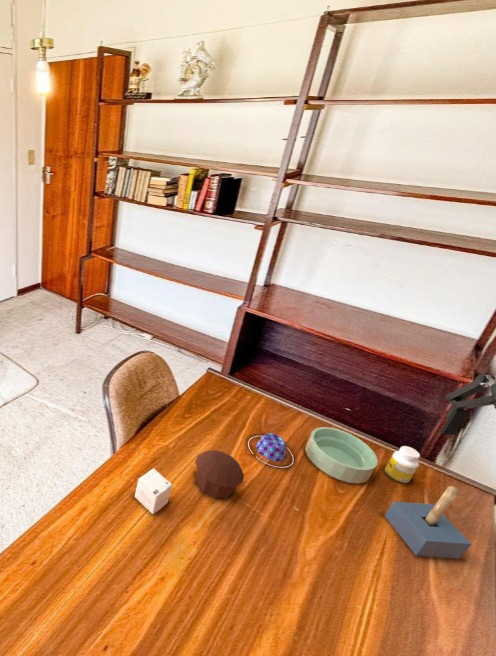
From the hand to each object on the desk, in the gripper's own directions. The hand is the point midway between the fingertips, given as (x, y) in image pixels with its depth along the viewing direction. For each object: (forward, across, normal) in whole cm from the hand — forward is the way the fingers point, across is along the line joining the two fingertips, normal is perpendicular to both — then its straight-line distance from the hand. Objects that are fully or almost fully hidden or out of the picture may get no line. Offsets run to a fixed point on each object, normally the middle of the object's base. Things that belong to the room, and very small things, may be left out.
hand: (475, 457), depth 83 cm
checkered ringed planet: (+27, -24, -24) cm, 43 cm away
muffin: (+27, -11, -45) cm, 54 cm away
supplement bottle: (+27, -18, +8) cm, 33 cm away
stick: (+27, 0, 0) cm, 27 cm away
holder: (+27, 0, 0) cm, 27 cm away
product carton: (+27, -5, -63) cm, 69 cm away
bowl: (+27, -22, -6) cm, 35 cm away
